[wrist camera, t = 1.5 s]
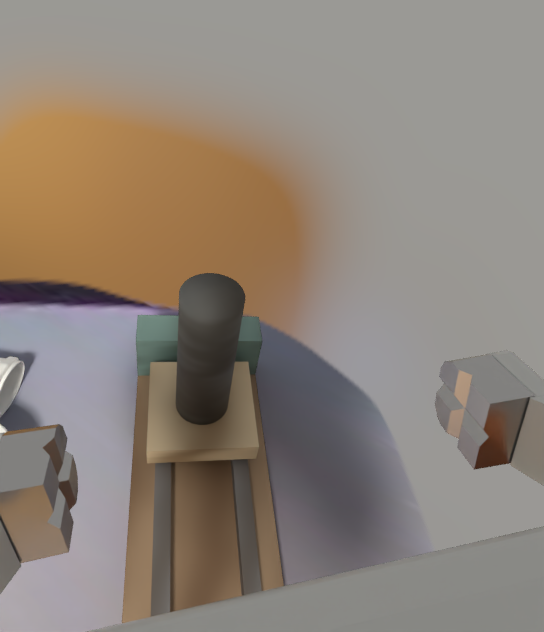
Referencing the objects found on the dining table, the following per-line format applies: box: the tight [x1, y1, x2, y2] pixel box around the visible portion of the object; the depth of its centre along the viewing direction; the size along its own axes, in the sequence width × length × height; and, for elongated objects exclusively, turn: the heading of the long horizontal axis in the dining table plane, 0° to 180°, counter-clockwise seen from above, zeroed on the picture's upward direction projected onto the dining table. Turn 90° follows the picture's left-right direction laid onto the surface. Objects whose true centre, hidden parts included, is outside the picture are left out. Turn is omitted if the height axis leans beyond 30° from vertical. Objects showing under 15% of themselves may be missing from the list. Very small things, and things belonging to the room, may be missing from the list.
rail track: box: [122, 315, 284, 623], centre depth 30 cm, size 9×28×6 cm, turn 7°
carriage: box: [146, 273, 259, 463], centre depth 31 cm, size 7×7×12 cm
